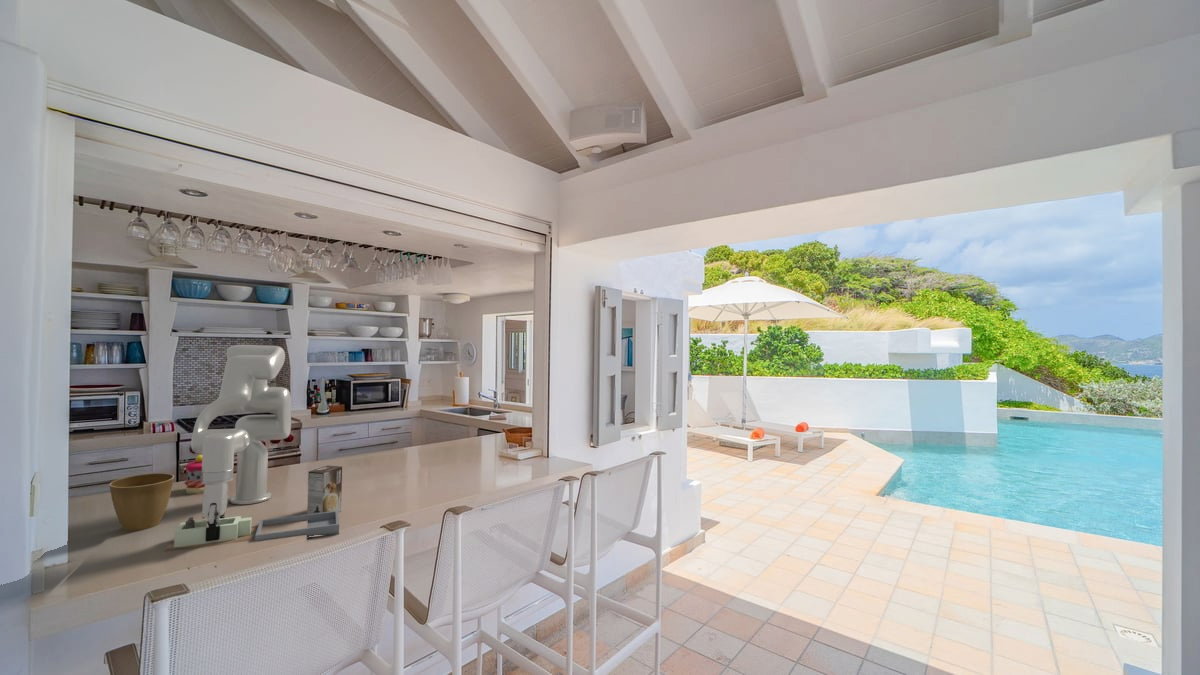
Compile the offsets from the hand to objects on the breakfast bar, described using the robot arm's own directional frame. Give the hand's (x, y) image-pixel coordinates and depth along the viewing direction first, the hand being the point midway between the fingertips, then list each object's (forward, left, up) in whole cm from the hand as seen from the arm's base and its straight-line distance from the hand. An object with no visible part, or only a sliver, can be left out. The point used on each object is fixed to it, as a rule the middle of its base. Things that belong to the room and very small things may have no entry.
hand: (215, 534), depth 148 cm
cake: (-62, -13, -3) cm, 64 cm away
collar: (0, 0, -1) cm, 1 cm away
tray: (0, +22, -2) cm, 22 cm away
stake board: (0, 0, -2) cm, 2 cm away
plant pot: (-20, -21, -3) cm, 29 cm away
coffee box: (-14, +29, -3) cm, 32 cm away
